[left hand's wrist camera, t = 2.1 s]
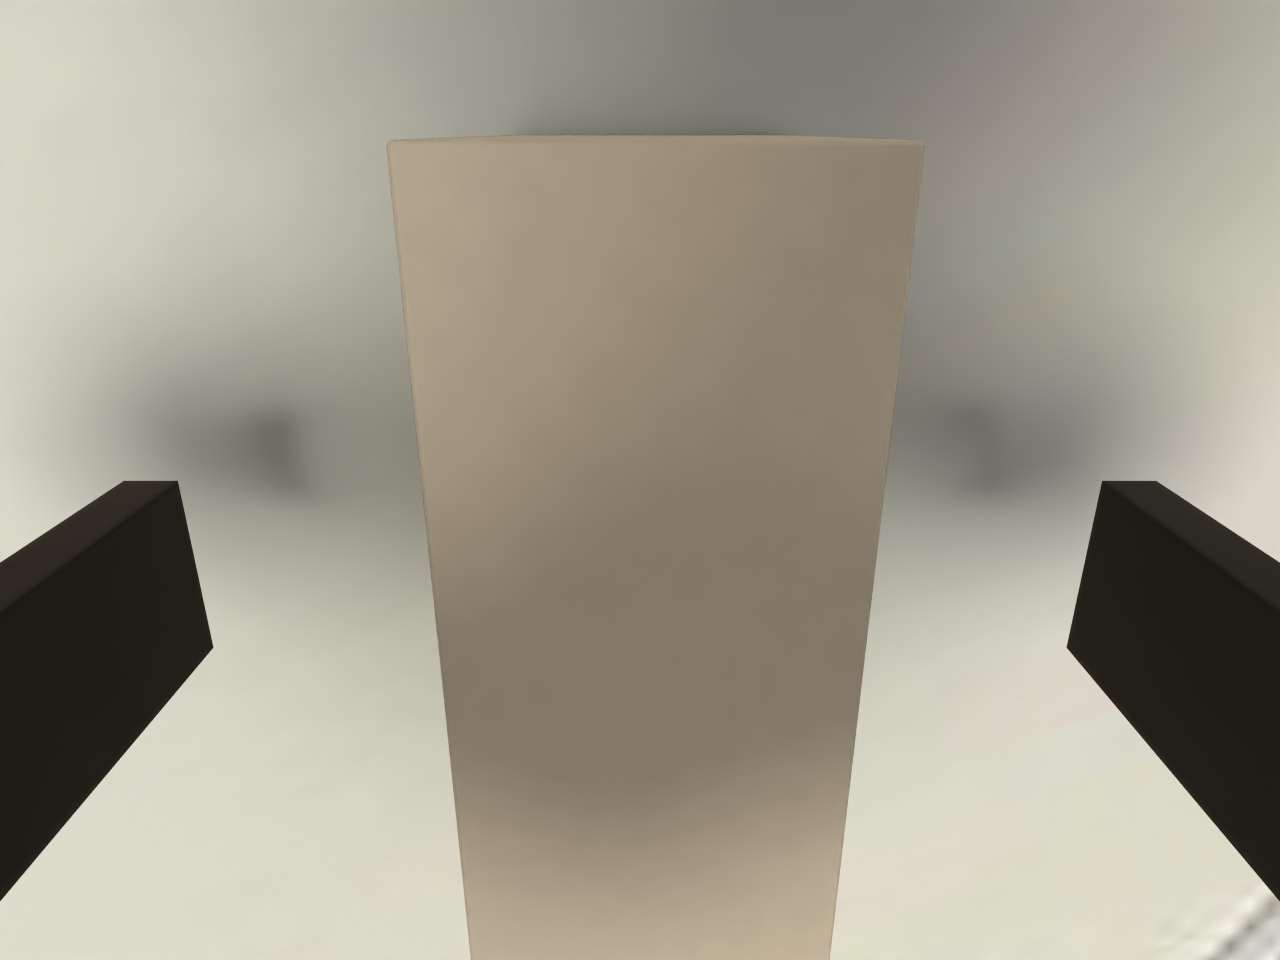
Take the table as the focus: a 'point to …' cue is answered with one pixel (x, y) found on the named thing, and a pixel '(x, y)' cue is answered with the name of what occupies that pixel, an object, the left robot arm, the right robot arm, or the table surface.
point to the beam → (653, 520)
